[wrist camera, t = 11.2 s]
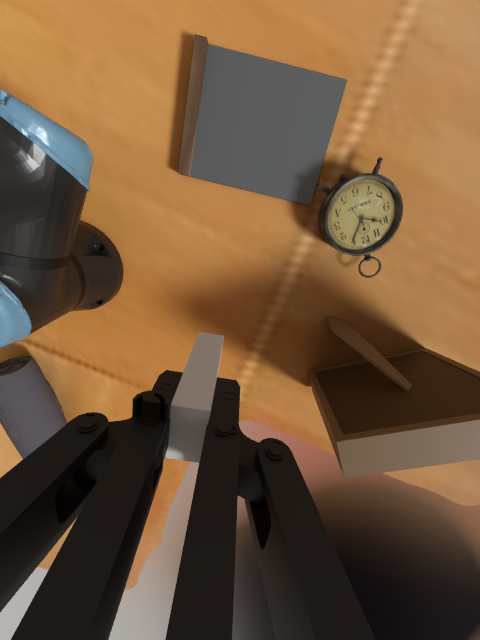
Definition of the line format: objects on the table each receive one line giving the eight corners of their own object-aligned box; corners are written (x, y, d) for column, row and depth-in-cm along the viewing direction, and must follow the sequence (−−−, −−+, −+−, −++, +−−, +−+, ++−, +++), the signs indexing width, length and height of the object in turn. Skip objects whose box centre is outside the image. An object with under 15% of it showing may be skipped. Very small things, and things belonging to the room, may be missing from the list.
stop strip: (181, 174, 43) (178, 173, 41) (197, 42, 37) (194, 34, 35) (190, 176, 43) (188, 175, 41) (208, 45, 37) (206, 37, 35)
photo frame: (425, 367, 53) (557, 487, 30) (311, 388, 56) (350, 512, 33) (422, 294, 48) (578, 369, 25) (297, 321, 51) (332, 411, 28)
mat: (184, 175, 43) (184, 175, 43) (201, 43, 37) (201, 42, 37) (309, 205, 44) (310, 205, 43) (346, 81, 38) (347, 80, 38)
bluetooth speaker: (7, 355, 57) (-41, 383, 48) (49, 350, 56) (8, 378, 47) (51, 440, 65) (18, 478, 56) (88, 437, 64) (60, 475, 55)
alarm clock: (395, 150, 36) (415, 268, 41) (378, 159, 41) (398, 263, 46) (312, 183, 38) (341, 292, 43) (306, 188, 43) (332, 285, 48)
